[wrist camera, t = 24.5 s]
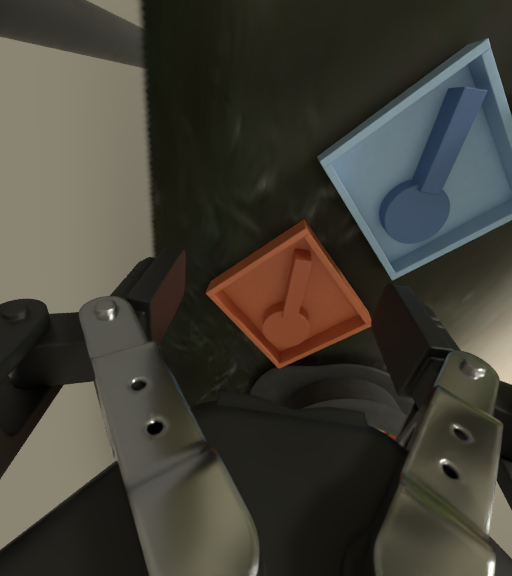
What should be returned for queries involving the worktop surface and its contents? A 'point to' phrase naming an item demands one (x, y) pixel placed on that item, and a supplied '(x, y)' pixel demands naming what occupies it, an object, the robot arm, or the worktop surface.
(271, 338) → the orange disc-ended stick
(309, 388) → the casserole
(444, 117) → the blue spoon
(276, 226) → the worktop surface
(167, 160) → the worktop surface
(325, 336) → the terracotta tray
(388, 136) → the blue tray
